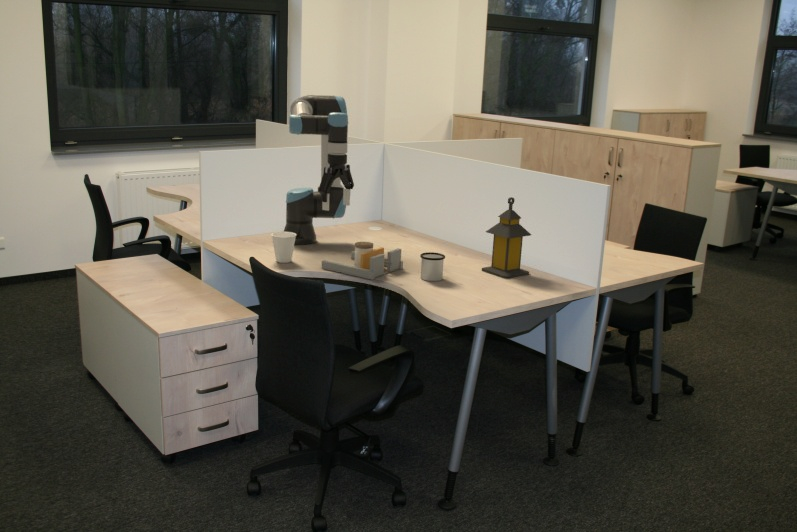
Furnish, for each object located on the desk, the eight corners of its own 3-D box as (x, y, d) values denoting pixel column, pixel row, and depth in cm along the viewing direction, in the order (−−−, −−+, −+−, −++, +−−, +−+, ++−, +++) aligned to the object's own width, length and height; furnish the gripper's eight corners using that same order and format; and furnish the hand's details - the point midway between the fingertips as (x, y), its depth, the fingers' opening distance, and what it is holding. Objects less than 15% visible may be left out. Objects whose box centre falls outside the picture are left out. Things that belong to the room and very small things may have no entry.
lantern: (480, 270, 297) (485, 195, 289) (505, 265, 305) (511, 193, 298) (505, 279, 286) (511, 201, 278) (530, 274, 295) (537, 199, 287)
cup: (272, 257, 302) (272, 231, 299) (296, 258, 303) (297, 231, 300) (270, 264, 293) (270, 236, 290) (295, 264, 294) (295, 237, 291)
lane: (353, 258, 307) (353, 239, 305) (402, 268, 295) (403, 248, 293) (321, 268, 290) (321, 248, 288) (372, 279, 278) (373, 258, 276)
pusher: (380, 264, 296) (381, 247, 294) (400, 268, 291) (401, 251, 289) (360, 271, 284) (360, 253, 283) (380, 276, 280) (381, 257, 278)
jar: (361, 265, 297) (362, 240, 294) (376, 268, 293) (377, 243, 291) (350, 268, 291) (351, 243, 288) (365, 272, 287) (366, 246, 285)
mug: (436, 283, 276) (437, 259, 274) (414, 278, 281) (415, 255, 279) (451, 276, 286) (452, 253, 284) (430, 272, 291) (431, 249, 289)
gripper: (348, 149, 300) (347, 201, 306) (309, 155, 280) (308, 210, 285) (363, 151, 296) (362, 204, 302) (325, 157, 276) (324, 213, 282)
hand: (336, 207), depth 294 cm, fingers open, 13 cm apart
